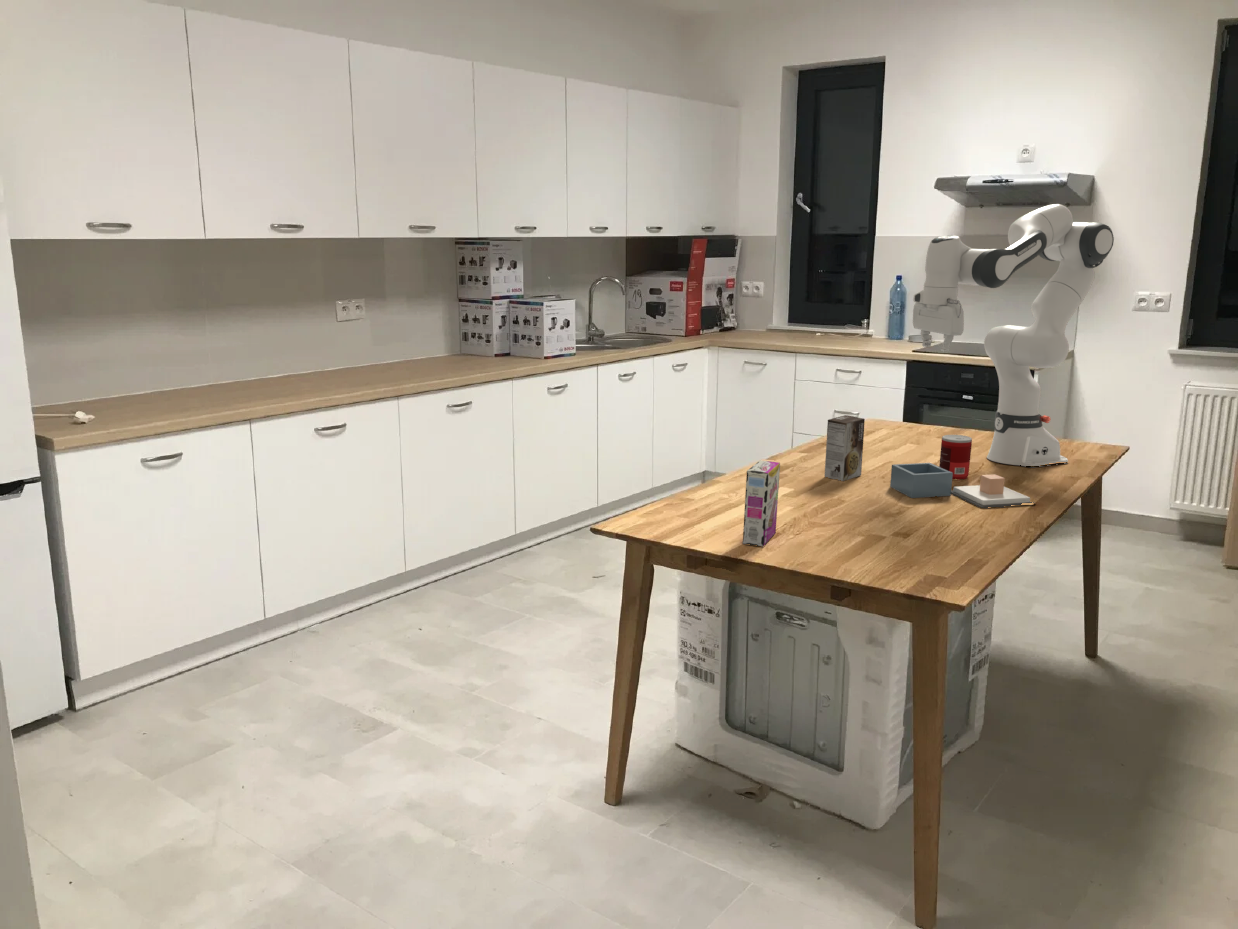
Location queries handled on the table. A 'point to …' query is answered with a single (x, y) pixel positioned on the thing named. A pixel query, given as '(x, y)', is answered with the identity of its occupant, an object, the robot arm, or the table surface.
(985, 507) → the mat
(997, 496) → the lid
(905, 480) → the open box
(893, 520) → the table surface
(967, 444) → the canned food
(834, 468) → the coffee box
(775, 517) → the candy bar box
